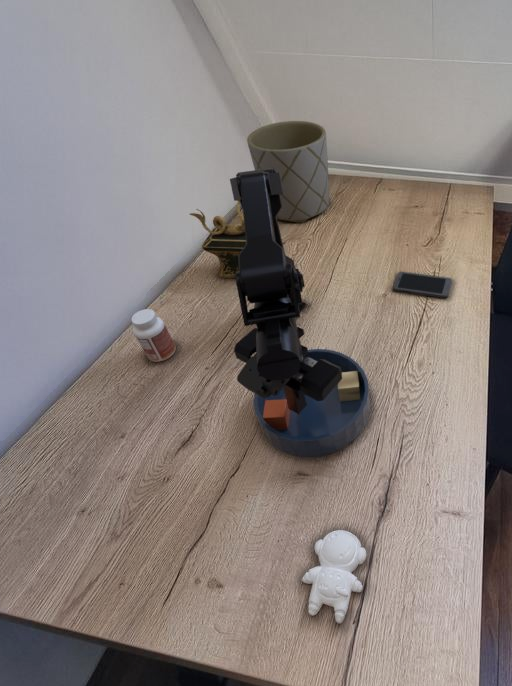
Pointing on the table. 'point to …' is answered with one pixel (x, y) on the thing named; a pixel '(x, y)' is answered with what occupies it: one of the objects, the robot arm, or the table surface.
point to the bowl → (320, 415)
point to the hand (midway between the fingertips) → (294, 393)
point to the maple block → (349, 386)
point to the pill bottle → (153, 335)
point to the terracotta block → (276, 414)
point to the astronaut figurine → (335, 572)
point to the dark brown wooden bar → (294, 399)
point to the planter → (295, 165)
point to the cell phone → (422, 284)
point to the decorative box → (225, 242)
